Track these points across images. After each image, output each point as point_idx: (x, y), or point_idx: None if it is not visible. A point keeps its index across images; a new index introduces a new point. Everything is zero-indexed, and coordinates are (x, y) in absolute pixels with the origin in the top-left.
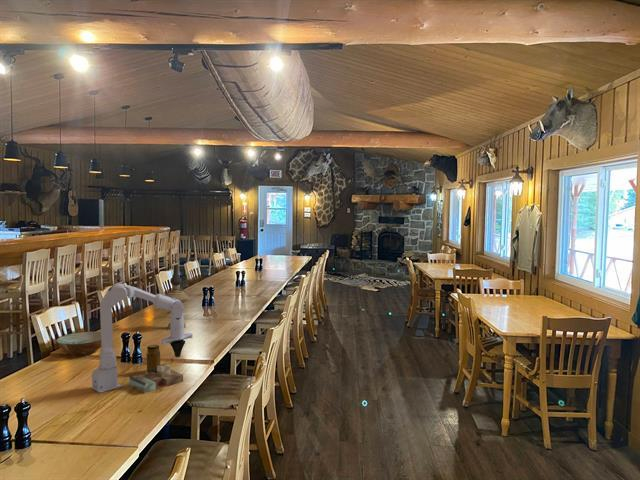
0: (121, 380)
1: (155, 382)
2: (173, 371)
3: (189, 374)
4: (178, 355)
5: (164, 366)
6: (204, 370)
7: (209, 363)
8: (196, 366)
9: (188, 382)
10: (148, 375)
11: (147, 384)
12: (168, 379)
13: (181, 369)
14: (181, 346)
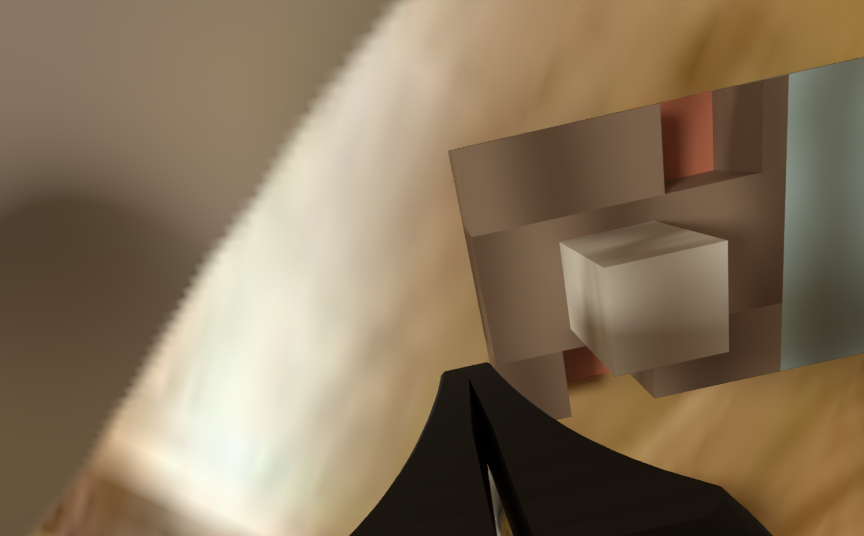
0: (804, 450)
1: (786, 84)
2: (496, 311)
3: (334, 300)
4: (482, 372)
5: (678, 270)
6: (178, 325)
7: (90, 468)
8: (218, 454)
9: (414, 92)
10: (729, 331)
11: None
12: (632, 110)
13: (353, 449)
14: (443, 488)
